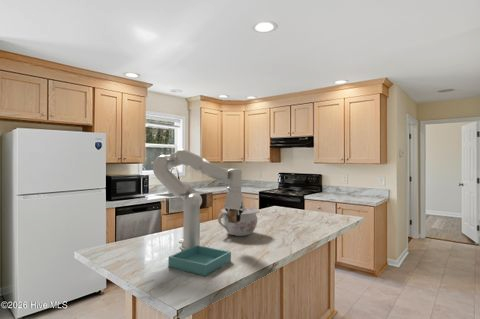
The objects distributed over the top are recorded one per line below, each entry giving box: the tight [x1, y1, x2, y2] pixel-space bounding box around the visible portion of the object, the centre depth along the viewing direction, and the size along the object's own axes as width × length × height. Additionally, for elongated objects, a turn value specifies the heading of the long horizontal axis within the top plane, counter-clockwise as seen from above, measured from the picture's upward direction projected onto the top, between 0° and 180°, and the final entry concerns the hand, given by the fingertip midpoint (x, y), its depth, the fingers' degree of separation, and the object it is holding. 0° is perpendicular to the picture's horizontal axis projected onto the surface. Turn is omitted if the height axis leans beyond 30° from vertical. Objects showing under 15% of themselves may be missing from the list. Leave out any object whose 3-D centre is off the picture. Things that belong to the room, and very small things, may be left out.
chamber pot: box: [217, 206, 260, 237], centre depth 203 cm, size 28×28×21 cm
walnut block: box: [228, 209, 240, 223], centre depth 169 cm, size 5×5×7 cm
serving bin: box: [167, 245, 232, 277], centre depth 143 cm, size 22×22×5 cm
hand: (234, 220), depth 169 cm, fingers closed on walnut block, 5 cm apart
